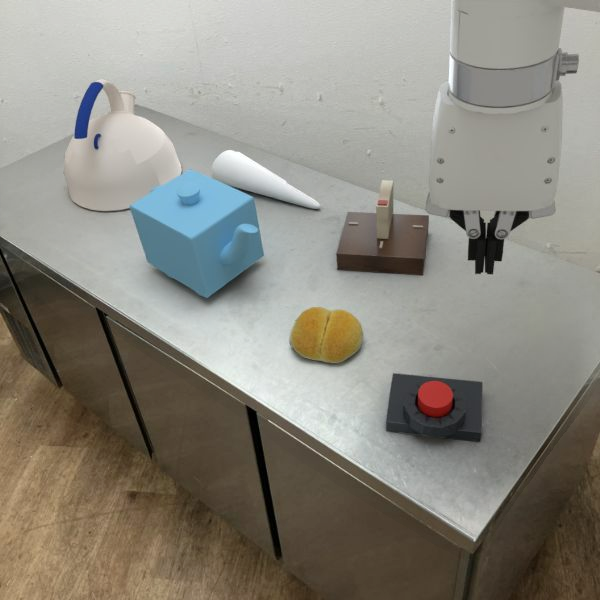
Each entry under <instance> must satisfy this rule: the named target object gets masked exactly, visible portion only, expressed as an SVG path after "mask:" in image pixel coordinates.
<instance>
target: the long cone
mask: <svg viewBox="0 0 600 600" xmlns="http://www.w3.org/2000/svg"><path fill="white" fill-rule="evenodd" d="M210 175H211V178H212V179H215V180H217V181H219V182H221V183H224V184H226V185H228V186H230V187H232V188H235V189H240V190H242V191H243V190H244V191H248V192H251V193H254V194H258V195H261V196H265V197H269V198H273V199H276V200H279V201H282V202H286V203H290V204H293V205H297V206H300V207H305V208H308V209H312V210H319V209H321V207H322V206H321V204H320V203H319V202H318V201H317V200H315V199H314V198H312V196H309V195H308V194H306V193H304V192H303V191H301V190H299V189H298V188H296V187H294V186H293V185H291V184H289V183H288V181H287V180H285V179H284V178H282V177H280V176H279V175H277V174H276V173H274V172H273V171H270V170H269V169H268V168H266V167H264V166H263V165H261V164H260V163H258V162H256V161H255V160H253V159H252V158H250V157H248V156H246V155H245V154H243V153H242V152H240V151H235V150H232V149H229V150H228V149H227V150H224V151H223V152H221V153H220V154H219V155H218V156H216V158H215V159H214V161H213V163H212V166H211V169H210Z"/></svg>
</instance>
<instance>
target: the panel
mask: <svg viewBox="0 0 600 600" xmlns="http://www.w3.org/2000/svg"><path fill="white" fill-rule="evenodd" d="M429 225H430V214H406V213H404V214H403V213H393V217H392V222H391V227H390V232H389V237H388V239H378V238H377V223H376V212H362V211H361V212H359V211H347V214H346V216H345V220H344V223H343V227H342V231H341V235H340V237H339V242H338V245H337V249H336V253H335V255H336V257H335V258H336V269H337V270H339V271H350V272H351V271H353V272H368V273H369V272H370V273H380V274H381V273H384V274H396V275H397V274H399V275H412V276H413V275H415V276H424V271H425V263H426V254H427V247H428V246H427V245H428V237H429Z"/></svg>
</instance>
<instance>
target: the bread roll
mask: <svg viewBox="0 0 600 600" xmlns="http://www.w3.org/2000/svg"><path fill="white" fill-rule="evenodd" d="M288 341H289V344H290V347H292V349H293V350H294V351H295V352H296V353H297V354H298V355H299V356H301V357H303V358H305V359H309V360H313V361H320V362H321V361H322V362H324V363H329V364H339V363H342V362H345V361H346V360H347V359H349V358H350V357H352V356H353V355H355V354H356V353H357V352H358V351H359V350H360V349H361V347H362V345H363V341H364V330H363V326H362V324H361V322H360V321H359V319H358V318H357V317H356V316H354V315H353V314H352V313H350V312H349V311H347V310H345V309H340V308H339V309H332V310H330V309H327V308H325V307H321V306H311V307H309V308H306V309H305V310H304V311H302V312H301V313H300V315H298V316H297V318H296V319H295V321H294V322H293V325H292V328H291V330H290V332H289V337H288Z"/></svg>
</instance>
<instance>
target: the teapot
mask: <svg viewBox="0 0 600 600" xmlns="http://www.w3.org/2000/svg"><path fill="white" fill-rule="evenodd" d="M129 207H130V209H129V210H130V213H131V216H132V219H133V222H134V225H135V229H136V232H137V234H138V237H139V240H140V243H141V246H142V249H143V253H144V255H145V259H146V262H147V263H148V264H150V265H151V266H153V267H154V268H156V269H158V270H159V271H161V272H163V273H164V274H166V276H167V277H168V278H171V279H174V280H176V281H178V282H179V283H181V284H183V285H185V286H186V287H188V288H189V289H191V290H193V291H194V292H195V293H196V294H197V295H198V296H200V297H204V298H206V299H208V298H209V297H210V296H212V295H213V294H215V293H216V292H217V291H219V290H220V289H222V288H223V287H224V286H226V285H227V284H228V283H229V282H231V281H232V280H234V279H235V278H236V277H238V276H239V275H240V274H241V273H243V272H244V271H246V270H247V269H248V268H249V267H251V266H252V265H254V264H255V263H256V262H258V261H259V260H260V259H262V258H263V257H265V253H264V248H263V247H264V246H263V241H262V236H261V229H260V224H259V217H258V213H257V206H256V202H255V198H254V197H253V196H252V195H250V194H248V193H245V192H243V191H241V190H239V189H238V188H236V187H233V186H229V185H226V184H224V183H221V182H219V181H217V180H215V179H213V178H212V177H210V176H208V175H206V174H203V173H201V172H199V171H197V170H194V169H191V168H189V169H188V170H186V171H185V172H183V173H181V174H180V176H178V177H176V178H174V179H173V180H171V181H169V182H168V183H166V184H164V185H159V186H156V187H154V188H153V189H152V190H151V191H150V193H149V194H148V195H146V196H144V197H143V198H141V199H140V200H138V201H136V202H134V203H133V204H131V205H130V206H129Z"/></svg>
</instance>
